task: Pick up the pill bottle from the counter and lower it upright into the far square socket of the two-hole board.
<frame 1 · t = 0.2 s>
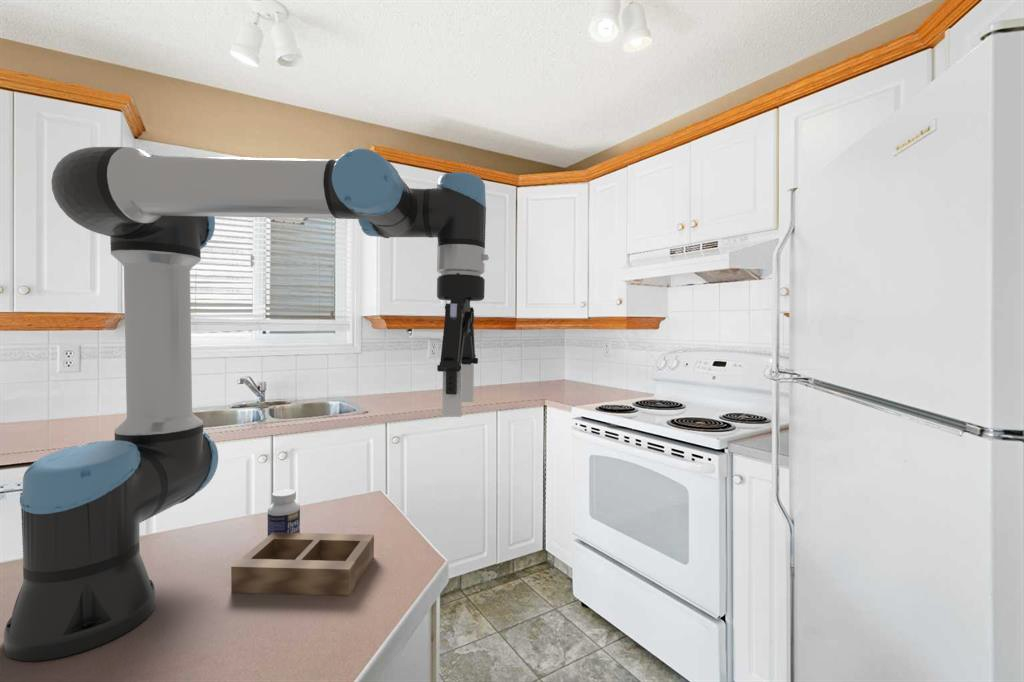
hand: (459, 408, 76), 28 cm above the counter, fingers open, 13 cm apart
pill bottle: (283, 545, 88), on the counter
socket board: (307, 573, 78), on the counter
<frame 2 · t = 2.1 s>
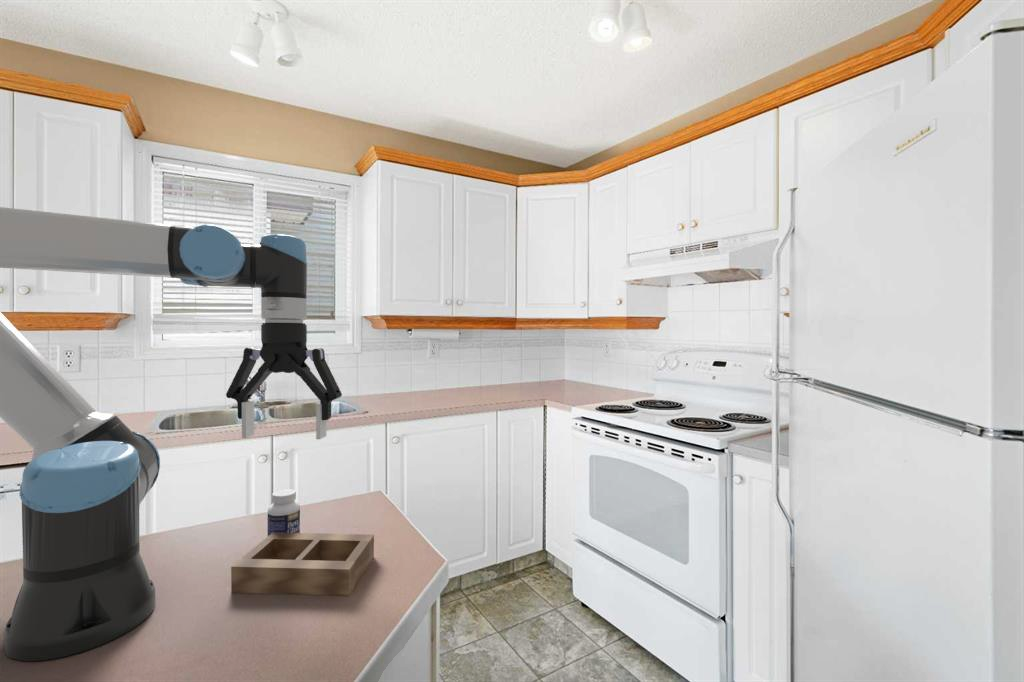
hand: (284, 437, 87), 20 cm above the counter, fingers open, 13 cm apart
nothing on the counter moved.
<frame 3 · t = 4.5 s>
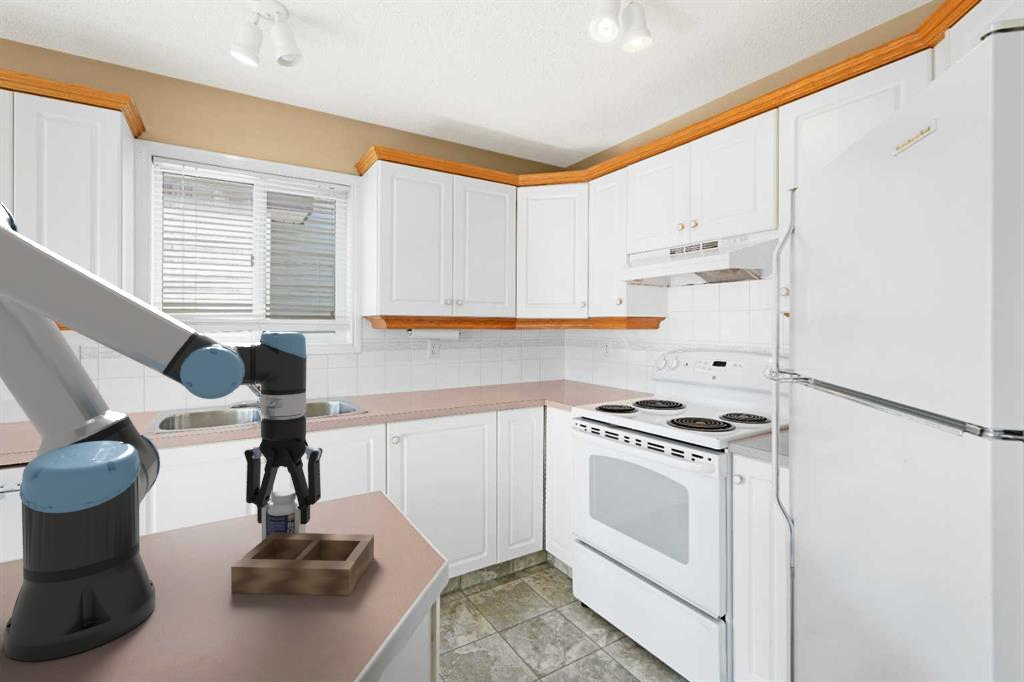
hand: (283, 540, 88), 1 cm above the counter, fingers closed on pill bottle, 5 cm apart
pill bottle: (283, 545, 88), on the counter, touching gripper
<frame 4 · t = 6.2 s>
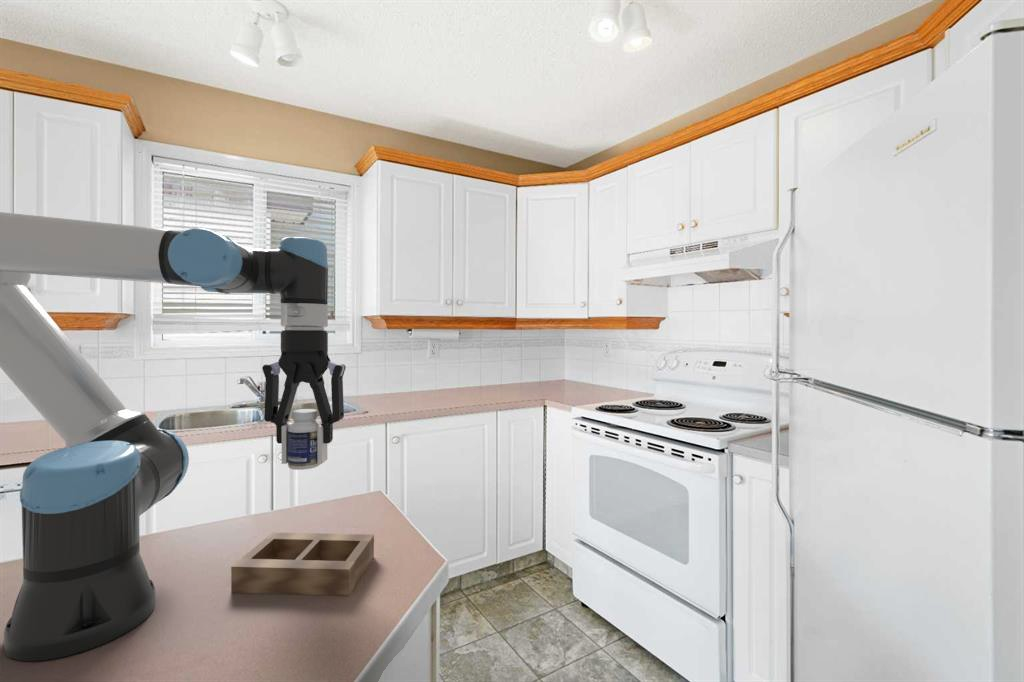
hand: (304, 461, 83), 17 cm above the counter, fingers closed on pill bottle, 5 cm apart
pill bottle: (304, 467, 83), point 16 cm above the counter, touching gripper
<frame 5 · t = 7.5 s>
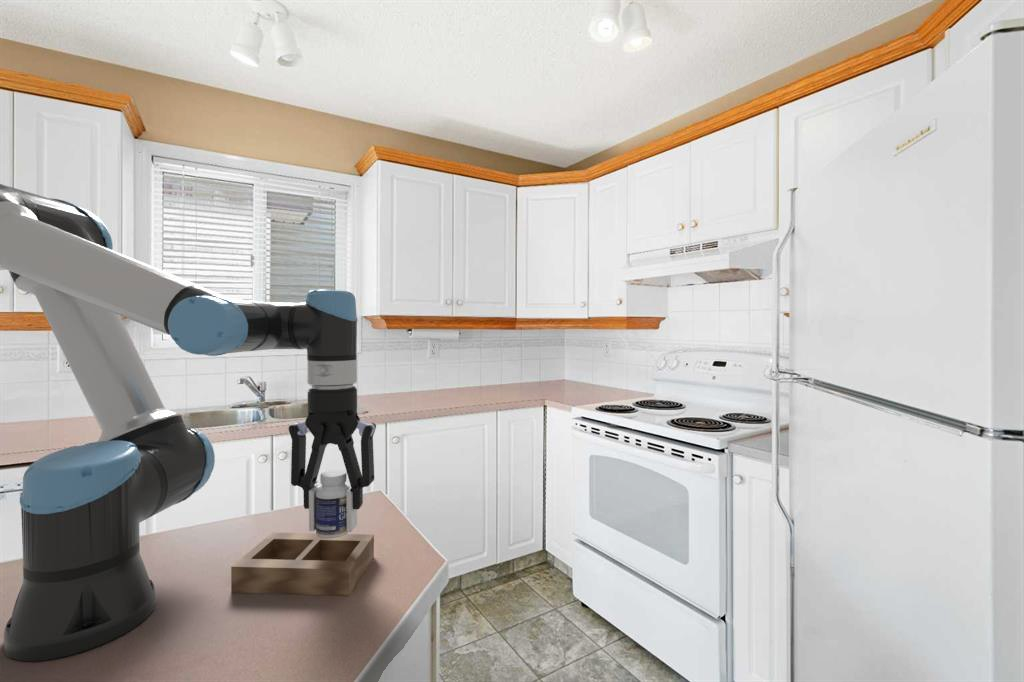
hand: (333, 527, 77), 8 cm above the counter, fingers closed on pill bottle, 5 cm apart
pill bottle: (333, 533, 78), point 7 cm above the counter, touching gripper
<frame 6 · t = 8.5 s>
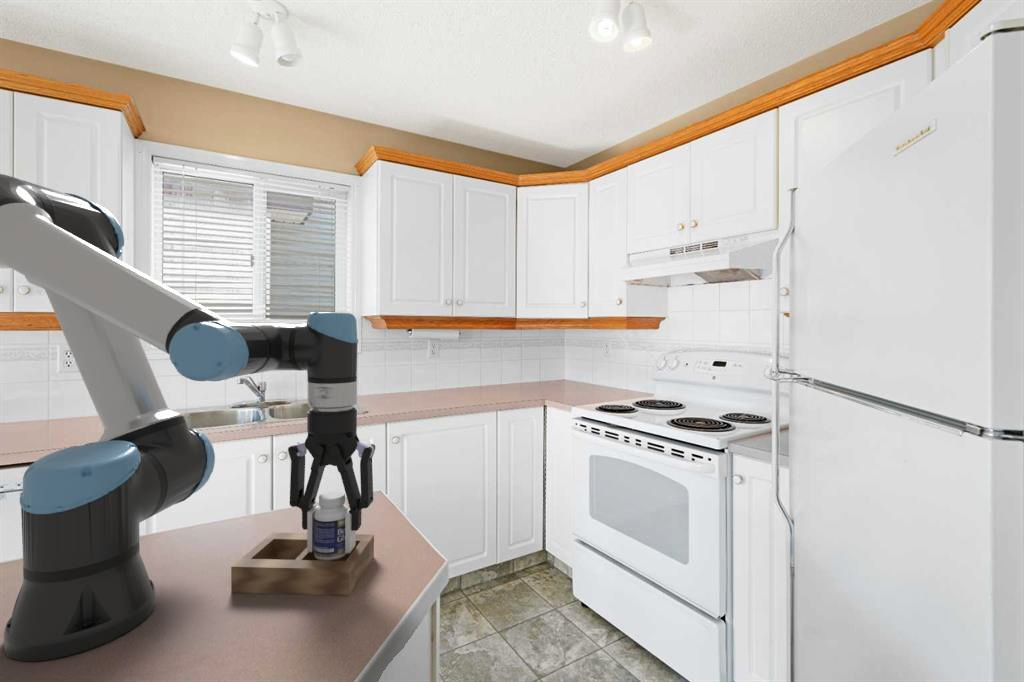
hand: (331, 548, 78), 4 cm above the counter, fingers closed on pill bottle, 5 cm apart
pill bottle: (332, 555, 78), point 3 cm above the counter, touching gripper
when the fingers open (4 cm above the counter, at t = 8.5 s): pill bottle drops 3 cm, resting in socket board.
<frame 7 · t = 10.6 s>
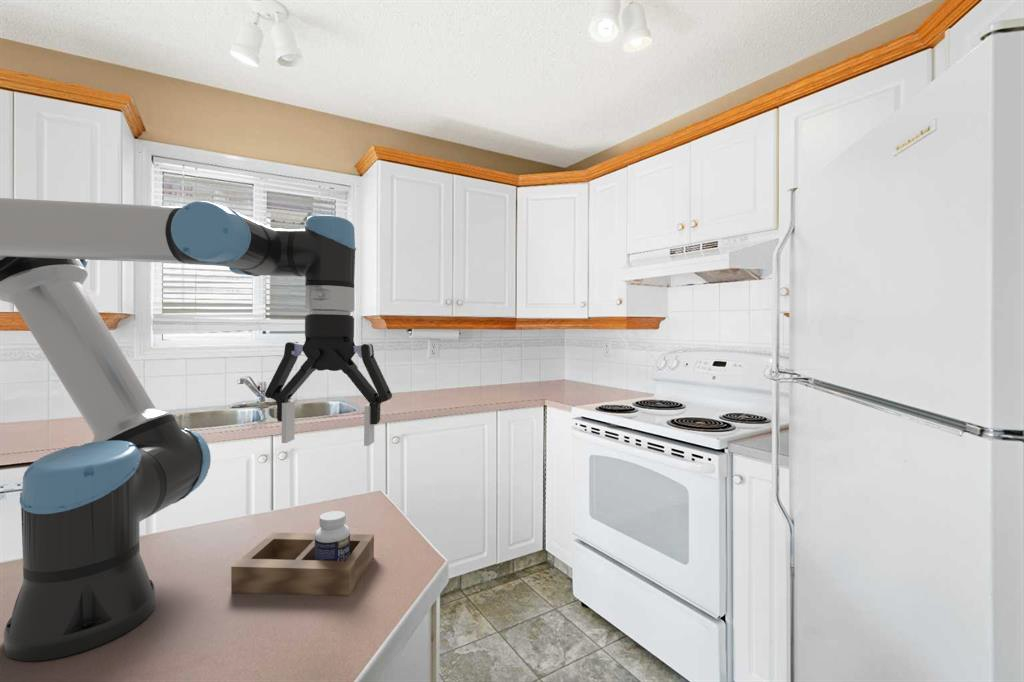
hand: (328, 442, 78), 21 cm above the counter, fingers open, 13 cm apart
pill bottle: (332, 575, 78), resting in socket board
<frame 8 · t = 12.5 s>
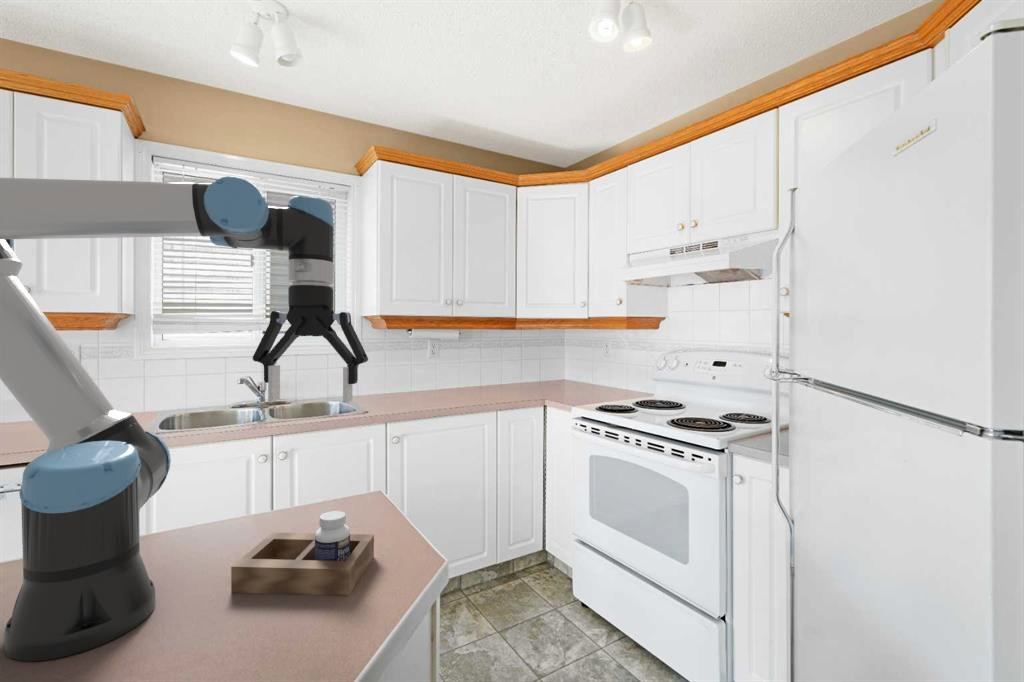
hand: (310, 401, 87), 27 cm above the counter, fingers open, 13 cm apart
nothing on the counter moved.
at the end: pill bottle 0.1 cm from the target spot on the socket board, point 0.0 cm above the socket board's base; pill bottle tilted 0°; the gripper is holding nothing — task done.
